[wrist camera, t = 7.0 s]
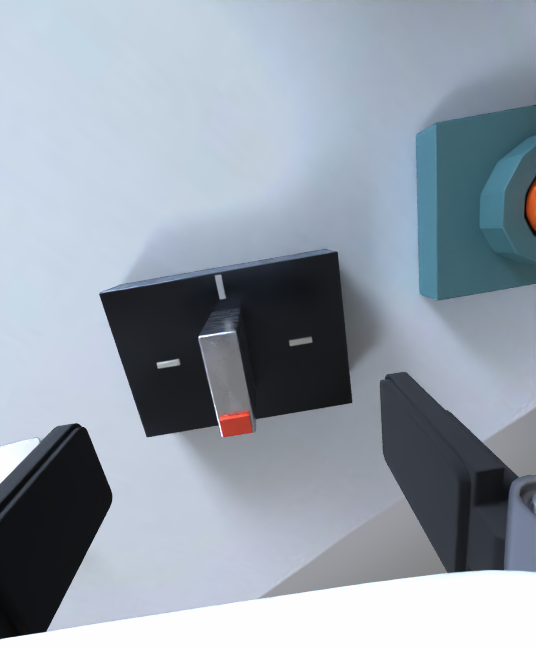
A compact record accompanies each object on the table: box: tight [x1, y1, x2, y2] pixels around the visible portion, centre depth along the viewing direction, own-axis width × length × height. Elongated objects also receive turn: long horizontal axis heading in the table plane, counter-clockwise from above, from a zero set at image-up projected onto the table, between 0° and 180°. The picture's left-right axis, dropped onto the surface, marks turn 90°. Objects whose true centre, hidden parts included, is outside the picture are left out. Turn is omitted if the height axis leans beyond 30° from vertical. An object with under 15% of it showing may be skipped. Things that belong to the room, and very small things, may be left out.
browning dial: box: [198, 308, 256, 437], centre depth 17 cm, size 6×2×5 cm, turn 9°
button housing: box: [416, 105, 536, 301], centre depth 18 cm, size 12×10×4 cm
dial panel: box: [99, 249, 352, 437], centre depth 20 cm, size 14×10×3 cm
